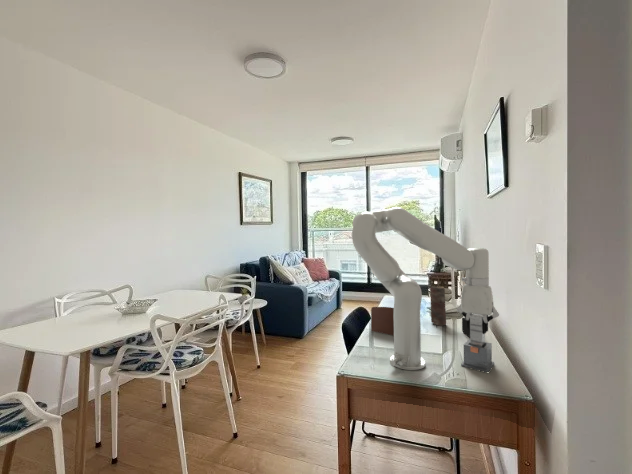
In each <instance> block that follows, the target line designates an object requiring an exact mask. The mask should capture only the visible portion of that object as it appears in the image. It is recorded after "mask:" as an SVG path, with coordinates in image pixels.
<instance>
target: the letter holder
mask: <svg viewBox="0 0 632 474" xmlns="http://www.w3.org/2000/svg"><path fill="white" fill-rule="evenodd" d="M393 312H394V307H390V306H388V307H387V306H372V307H371V308H370V319H371V320H370V322H371V323H370V325H371V326H370V332H376V333H380V334H385V335H389V336H394V319H393Z"/></svg>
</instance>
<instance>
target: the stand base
mask: <svg viewBox="0 0 632 474" xmlns="http://www.w3.org/2000/svg"><path fill="white" fill-rule="evenodd" d="M492 344H493V343H492V342H487V341H485V347H484V348H482V347H478V346H473V345H470V338H468V339H467V341H466V342H465V343H464V344H463V361H462V363H461V365H460V366H461V367H462V368H463V367H464V368H467V369H470V368H472V369H471V370H474V369H476V370H475V371H477V370H480V371H479V372H481V371H484V372H483V373H485V372H489V371H490V370H492V369H493V368H494V366H495V361H493V358H492V356H493V355H492V354H493V353H492V350H493V349H492ZM492 367H493V368H492ZM491 368H492V369H491ZM490 372H491V371H490ZM490 372H489V373H490Z"/></svg>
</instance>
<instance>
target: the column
mask: <svg viewBox="0 0 632 474" xmlns="http://www.w3.org/2000/svg"><path fill="white" fill-rule="evenodd" d="M483 321H484V320H483V315H480V314H473V313H472V314H471V315H470V337H469V339H470V345H473V346H478V347H482V348H484V347H485V342H486V333H485V334H483V327H482V324H483Z"/></svg>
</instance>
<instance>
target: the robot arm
mask: <svg viewBox="0 0 632 474" xmlns="http://www.w3.org/2000/svg"><path fill="white" fill-rule="evenodd" d="M351 231H352V232H351V239H352V244H353V247H354V249H355V251H356V252H357V253H358V255H359V256H360V257H361V259H362V260H363V261H364V262H365V263H366V265H367V266H368V267H369V268H370V270H371V272H372V273H373V275H374V276H375V278H376V279H377V280H378V281H379V282H380V283H381V285H382V286H383V287H384V288H385V289H386V290H387V291H388V292H389V293H390V294H391V296H393V301H394V302H393V308H394V312H393V319H394V335H393V354H392V355H391V356H390V358H389V364H390V365H391V366H393V367H395V368H397V369H400V370H405V371H418V370H421V369H424V368H425V367H426V360H425V359H424V358H423V357H422V346H421V345H422V344H421V343H422V342H421V341H422V339H421V338H422V337H421V336H422V335H421V334H422V333H421V331H422V330H421V309H422V307H421V306H422V298H423V296H422V294H423V293H422V289H421V286H420V284H419V283H418V282H417V281H416V280H414V279H413V278H412V277H409V276H408V275H407V274H406V273H405V272H404V271H403V270H402V269H401V267H400V264H399V262H397V260H396V259H395V258H394V257H393V256H392V255H391V254H390V253H389V252H388V250H386V249H385V247H383V245H382V244H381V243H380V241H379V240H378V239H377V235H376V234H377V233H382V232H383V233H384V232H389V231H393V232H395V233H397V234H398V235H400V236H401V237H402V238H404V239H406V240H407V241H409V242H410V243H412V244H413V245H414V246H416V247H418V248H420V249H422V250H424V251H428V252H430V253H431V254H434V255H435V256H437V257H439V258H441V262H442V263H443V264H444V265H445V266H447V267H449V268H451V269H456V270H459V271H465V277H461V282H464V283H465V284H463V285H462V290H461V299H460V300H461V301H460V305H458V307H457V308H456V311H457V312H458V313H460V314H461V315H462V317H463V318H466V320H467V328H469V331H470V315H471V314H480V315H483V320H484V321H483V324H482V327H483V334H485V335H486V333H487V332H488V331H489V322H490V321H492V320H493V319H495V318H498V317H499V316H500V313H499V311H498V310H497V309H496V307H495V305H494V295H493V291H492V287H491V285H490V280H489V279H490V278H489V277H490V273H489V272H490V270H489V269H490V268H489V267H490V266H489V263H490V260H489V250H488V249H487V248H484V247H470V248H466V247H465V246H464V245H462V244H460V243H459V242H458V241H456V240H454V239H453V238H451V237H450V236H447V235H446V234H444V233H442V232H440V231H439V230H437V229H436V228H433V227H432V226H430V225H428V224H427V223H425V222H423V221H422V220H421V219H419V218H418V217H416V216H415V215H413V213H410V212H409V211H408V210H406V209H404V208H403V207H400V206H395V207H390V208H386V209H382V210H376V211H362V212H360V213H358V214H357V215H355V216H354V218H353V221H352V230H351Z"/></svg>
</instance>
